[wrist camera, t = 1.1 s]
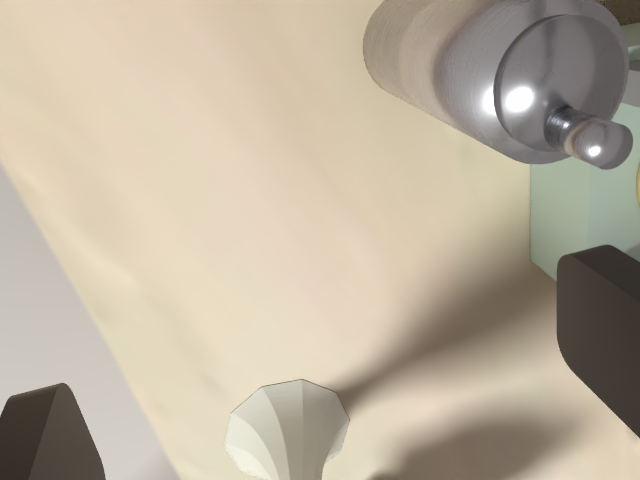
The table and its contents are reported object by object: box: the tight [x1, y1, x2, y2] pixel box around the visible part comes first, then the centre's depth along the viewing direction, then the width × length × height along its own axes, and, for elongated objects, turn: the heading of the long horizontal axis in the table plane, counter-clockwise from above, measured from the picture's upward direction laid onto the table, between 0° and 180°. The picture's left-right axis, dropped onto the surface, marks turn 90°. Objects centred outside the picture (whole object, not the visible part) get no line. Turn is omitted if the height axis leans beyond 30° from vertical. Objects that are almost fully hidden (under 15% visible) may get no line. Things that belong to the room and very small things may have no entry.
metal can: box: [363, 0, 633, 170], centre depth 25 cm, size 6×6×17 cm
